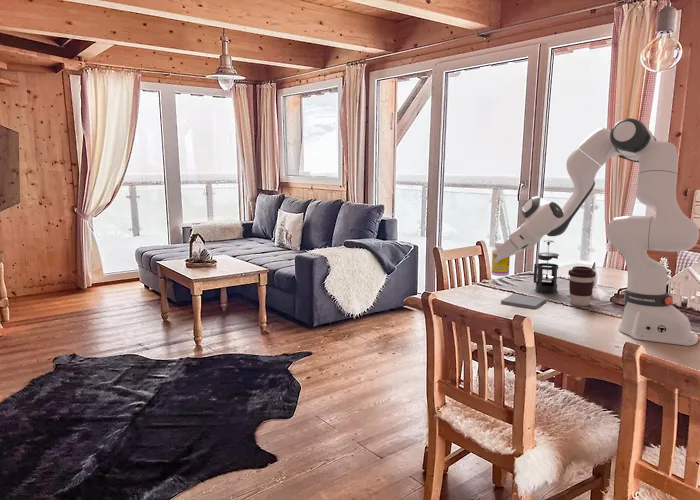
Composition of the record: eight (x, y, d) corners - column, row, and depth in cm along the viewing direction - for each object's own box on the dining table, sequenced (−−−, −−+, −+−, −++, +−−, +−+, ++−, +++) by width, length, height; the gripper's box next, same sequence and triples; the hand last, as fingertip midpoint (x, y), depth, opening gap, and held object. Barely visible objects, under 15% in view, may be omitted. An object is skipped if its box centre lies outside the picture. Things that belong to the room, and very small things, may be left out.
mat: (546, 301, 206) (546, 298, 206) (535, 309, 196) (535, 306, 196) (512, 296, 215) (513, 293, 215) (500, 303, 205) (501, 300, 205)
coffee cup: (577, 308, 196) (579, 270, 194) (561, 301, 206) (563, 266, 204) (599, 306, 198) (601, 269, 196) (582, 300, 208) (584, 264, 206)
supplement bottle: (509, 276, 193) (511, 244, 190) (492, 276, 194) (493, 243, 192) (507, 273, 199) (509, 241, 197) (490, 272, 200) (491, 240, 198)
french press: (563, 292, 221) (566, 240, 217) (549, 295, 216) (552, 242, 212) (541, 287, 231) (543, 237, 227) (527, 289, 226) (529, 239, 222)
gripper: (529, 228, 197) (504, 250, 205) (509, 234, 181) (483, 257, 189) (540, 240, 195) (514, 262, 203) (521, 247, 179) (494, 270, 187)
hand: (499, 260), depth 196 cm, fingers closed on supplement bottle, 7 cm apart
